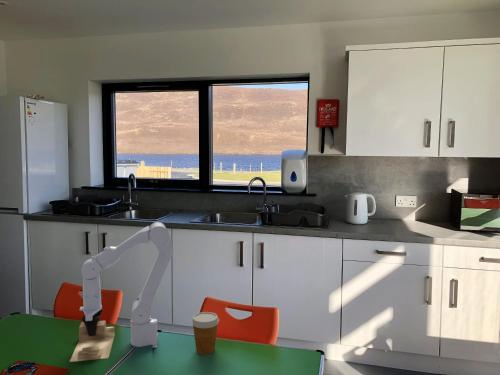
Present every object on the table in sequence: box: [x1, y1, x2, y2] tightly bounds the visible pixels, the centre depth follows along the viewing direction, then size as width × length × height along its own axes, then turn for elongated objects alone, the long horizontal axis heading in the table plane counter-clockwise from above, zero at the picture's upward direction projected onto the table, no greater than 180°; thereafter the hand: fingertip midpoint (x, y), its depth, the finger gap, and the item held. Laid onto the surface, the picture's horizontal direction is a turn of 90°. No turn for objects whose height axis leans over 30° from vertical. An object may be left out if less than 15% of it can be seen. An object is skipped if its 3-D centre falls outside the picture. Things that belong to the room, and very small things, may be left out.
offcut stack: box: [78, 346, 101, 361], centre depth 131 cm, size 7×2×3 cm, turn 102°
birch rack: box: [69, 326, 115, 363], centre depth 138 cm, size 12×16×4 cm
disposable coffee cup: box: [191, 311, 220, 355], centre depth 138 cm, size 10×10×12 cm
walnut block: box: [78, 320, 107, 342], centre depth 138 cm, size 8×4×5 cm, turn 102°
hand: (93, 332), depth 138 cm, fingers closed on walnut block, 4 cm apart
